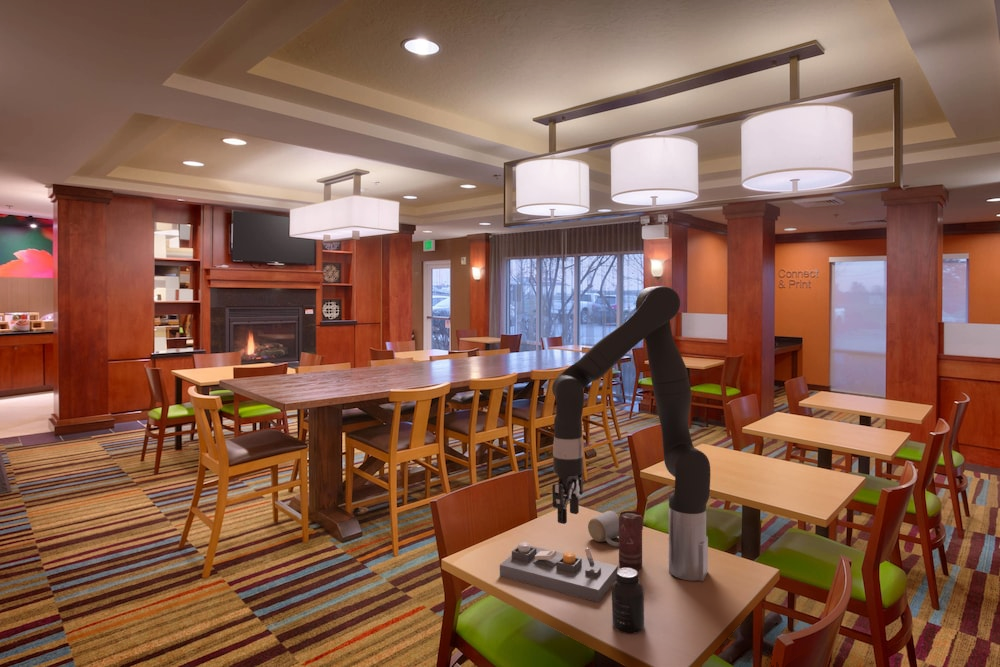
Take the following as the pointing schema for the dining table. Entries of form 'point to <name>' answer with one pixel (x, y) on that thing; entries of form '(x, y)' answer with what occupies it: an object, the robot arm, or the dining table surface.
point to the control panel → (560, 574)
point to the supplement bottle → (627, 601)
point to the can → (630, 539)
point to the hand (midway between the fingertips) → (568, 517)
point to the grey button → (524, 547)
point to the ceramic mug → (605, 527)
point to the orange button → (569, 558)
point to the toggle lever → (589, 557)
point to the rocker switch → (545, 555)
